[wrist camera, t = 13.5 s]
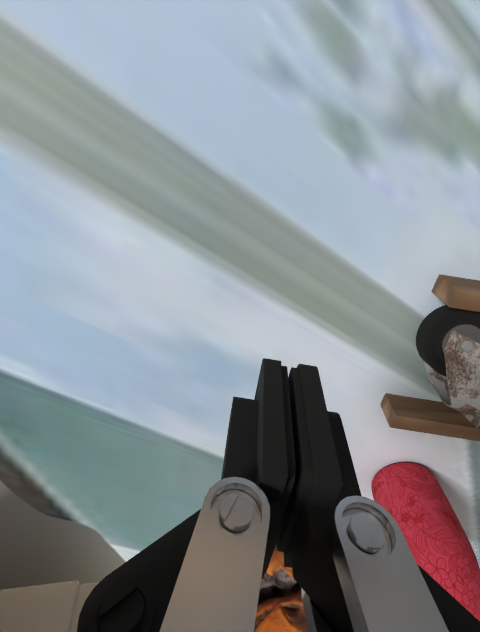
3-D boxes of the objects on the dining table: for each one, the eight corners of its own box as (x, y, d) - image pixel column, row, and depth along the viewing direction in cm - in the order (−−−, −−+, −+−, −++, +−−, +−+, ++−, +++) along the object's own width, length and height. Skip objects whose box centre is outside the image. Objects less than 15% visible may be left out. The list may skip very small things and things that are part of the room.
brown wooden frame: (439, 274, 36) (468, 297, 31) (566, 294, 36) (618, 320, 31) (380, 404, 45) (395, 440, 40) (482, 420, 45) (511, 458, 39)
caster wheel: (434, 287, 39) (509, 326, 39) (381, 365, 42) (451, 401, 42) (464, 297, 33) (554, 343, 33) (400, 388, 36) (482, 431, 36)
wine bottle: (429, 499, 53) (590, 854, 27) (366, 499, 54) (460, 839, 28) (439, 457, 49) (645, 834, 22) (370, 458, 50) (487, 817, 23)
